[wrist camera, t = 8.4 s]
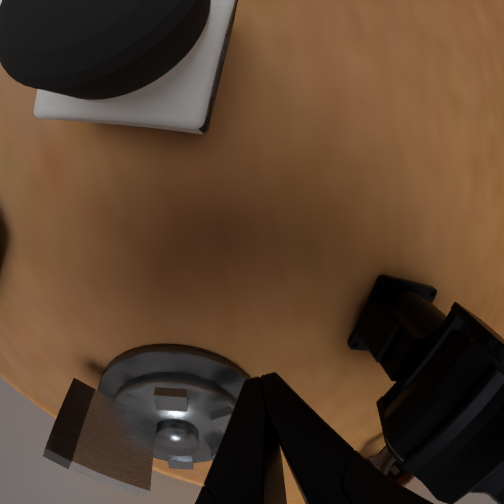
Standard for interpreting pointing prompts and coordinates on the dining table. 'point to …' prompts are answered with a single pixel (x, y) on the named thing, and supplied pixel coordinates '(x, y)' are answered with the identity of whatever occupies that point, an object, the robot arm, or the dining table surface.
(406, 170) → the dining table surface
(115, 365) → the flange
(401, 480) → the pottery mug
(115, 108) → the medicine bottle
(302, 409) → the robot arm
